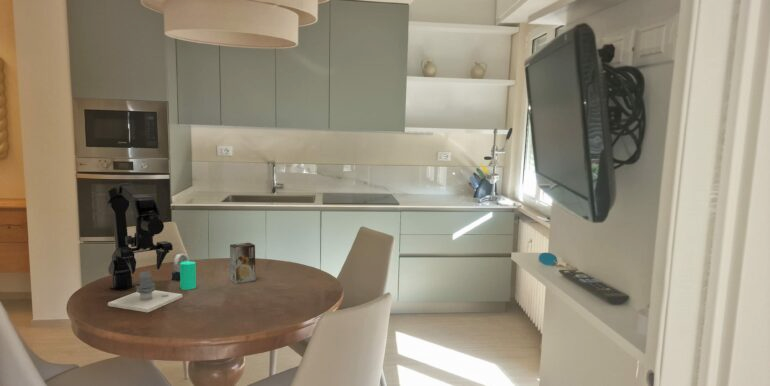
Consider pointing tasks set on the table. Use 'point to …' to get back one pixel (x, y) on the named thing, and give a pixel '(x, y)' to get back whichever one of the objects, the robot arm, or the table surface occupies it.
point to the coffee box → (242, 262)
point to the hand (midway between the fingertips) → (145, 271)
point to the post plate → (145, 300)
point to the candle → (187, 275)
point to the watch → (180, 259)
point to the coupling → (145, 283)
